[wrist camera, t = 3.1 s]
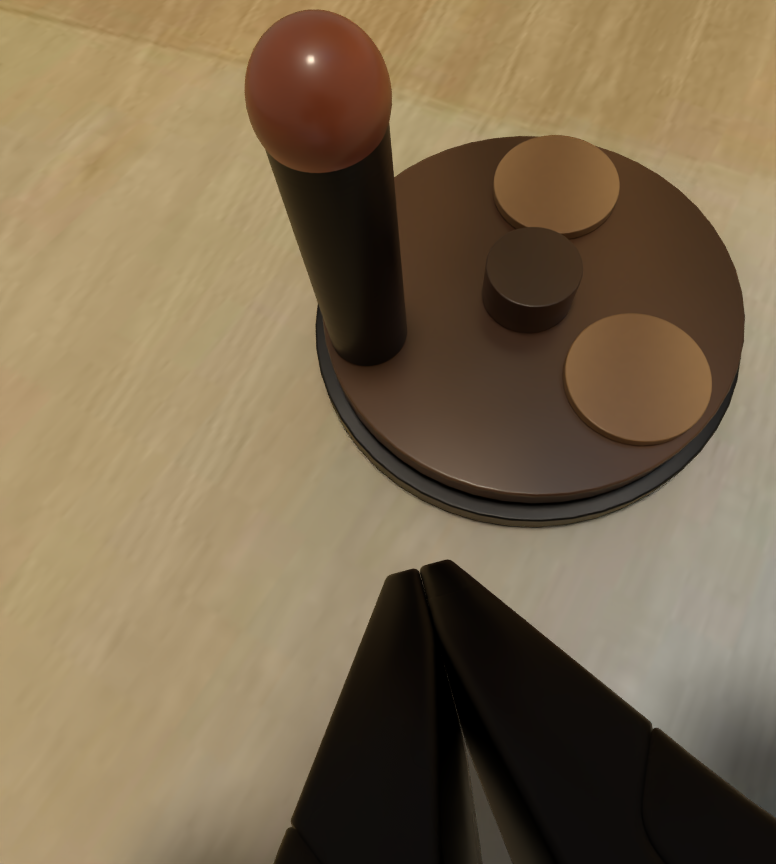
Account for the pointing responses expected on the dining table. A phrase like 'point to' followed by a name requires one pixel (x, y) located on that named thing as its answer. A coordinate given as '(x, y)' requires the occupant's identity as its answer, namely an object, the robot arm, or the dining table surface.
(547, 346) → the turntable with crank handle
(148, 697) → the dining table surface
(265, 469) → the dining table surface
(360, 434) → the base
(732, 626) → the dining table surface
